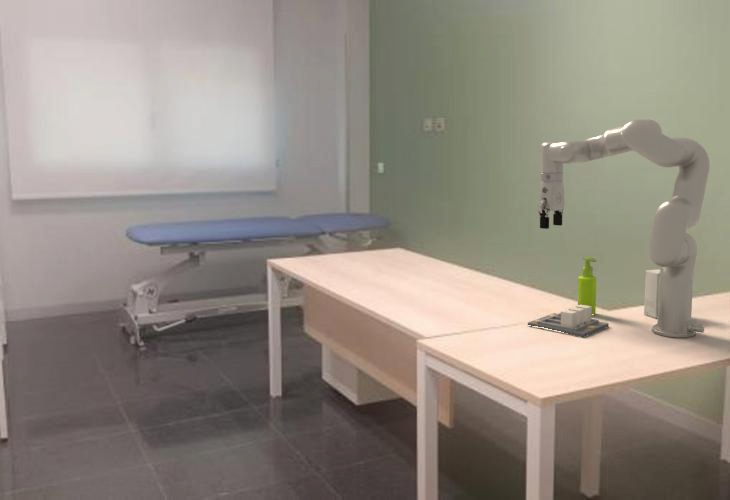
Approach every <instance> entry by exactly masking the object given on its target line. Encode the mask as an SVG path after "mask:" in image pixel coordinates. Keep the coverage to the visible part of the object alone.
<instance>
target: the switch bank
mask: <svg viewBox="0 0 730 500" xmlns="http://www.w3.org/2000/svg"><path fill="white" fill-rule="evenodd" d="M528 325H531V326H538V327H544V328H548V329H552V330H557V331H561V332H564V333H568V334H572V335H571V336H573V335H575V336H574V337H578V336H580V337H579V338H585V336H586V337H588V336H590V335H593V334H595V333H597V332H600V331H601V329H602V330H604V328H605V329H607V328H609V325H610V324H609V322H604V321H600V320H599V319H596V318H591V322H586V321H584V324H583V325H579V324H577V327H576V328H572V327H567V326H562V325H561V312H559V313H555V312H554V313H550V314H548V315H545V316H542V317H540V318H537V319H534V320H531V321H528V322H527V326H528ZM599 330H600V331H599ZM596 331H597V332H596ZM594 332H595V333H594ZM592 333H593V334H592ZM568 334H567V335H568ZM587 335H588V336H587Z"/></svg>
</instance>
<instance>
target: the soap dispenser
mask: <svg viewBox="0 0 730 500" xmlns="http://www.w3.org/2000/svg"><path fill="white" fill-rule="evenodd" d="M582 260H584V266H582V267H581V268H582V269H581V270H582V271H581V272H582V273H581V275H580V276H578V277H577V278H578V279H577V280H578V281H577V283H578V285H577V286H578V287H577V306H578V305H586V306H592V310H591V315H592V314H595V315H596V311H597V310H596V307H597V306H596V305H597V304H596V303H597V300H596V298H597V276H593V272H594V271H593V270H594V269H593V266H591V263H592V262H594V263H595V262H597V259H595V258H594V257H589V256H588V257H587V256H586V257H583V258H582Z"/></svg>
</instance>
